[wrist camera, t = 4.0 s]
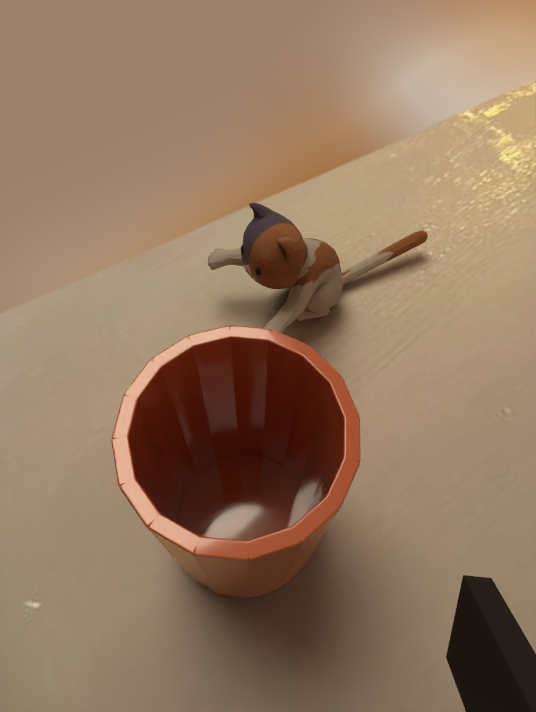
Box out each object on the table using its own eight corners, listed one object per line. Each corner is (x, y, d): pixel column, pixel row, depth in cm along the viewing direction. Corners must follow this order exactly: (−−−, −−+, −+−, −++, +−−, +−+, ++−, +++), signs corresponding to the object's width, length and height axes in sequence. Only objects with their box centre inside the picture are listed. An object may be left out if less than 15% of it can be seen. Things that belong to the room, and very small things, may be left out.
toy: (207, 289, 32) (194, 187, 25) (388, 215, 37) (420, 109, 29) (263, 378, 29) (266, 290, 22) (455, 286, 33) (511, 186, 26)
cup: (144, 507, 25) (67, 411, 15) (255, 423, 28) (255, 291, 17) (231, 634, 22) (212, 624, 12) (346, 527, 25) (411, 443, 14)
